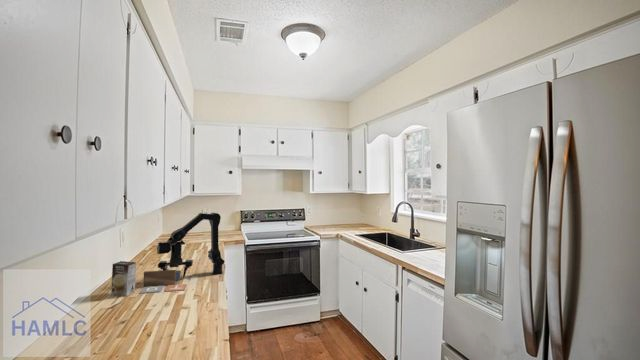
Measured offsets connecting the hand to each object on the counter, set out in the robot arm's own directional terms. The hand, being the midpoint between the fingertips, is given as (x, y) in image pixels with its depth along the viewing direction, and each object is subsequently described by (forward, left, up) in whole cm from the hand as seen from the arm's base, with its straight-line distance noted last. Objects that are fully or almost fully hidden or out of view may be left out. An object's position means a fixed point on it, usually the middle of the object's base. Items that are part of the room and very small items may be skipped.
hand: (175, 278), depth 185 cm
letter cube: (0, 0, -1) cm, 1 cm away
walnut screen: (+9, -7, -1) cm, 11 cm away
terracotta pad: (+17, +3, -1) cm, 17 cm away
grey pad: (+17, -9, -1) cm, 19 cm away
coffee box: (+20, -22, -1) cm, 30 cm away
